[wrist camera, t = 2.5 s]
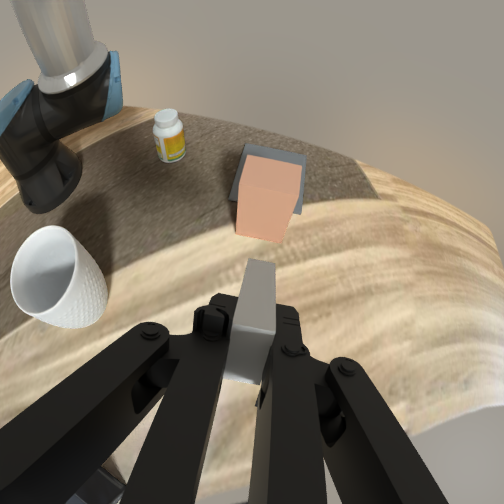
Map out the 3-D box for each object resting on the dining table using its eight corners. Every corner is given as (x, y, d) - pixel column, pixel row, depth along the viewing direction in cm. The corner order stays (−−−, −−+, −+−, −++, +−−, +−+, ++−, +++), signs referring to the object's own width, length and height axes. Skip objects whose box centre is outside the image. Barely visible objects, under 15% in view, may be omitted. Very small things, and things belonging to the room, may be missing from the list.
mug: (39, 327, 32) (-14, 303, 20) (51, 263, 36) (7, 225, 25) (115, 341, 33) (67, 323, 21) (125, 268, 37) (88, 223, 26)
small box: (93, 459, 24) (57, 477, 15) (130, 487, 23) (102, 514, 14) (71, 493, 20) (37, 512, 11) (103, 519, 19) (76, 545, 10)
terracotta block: (281, 243, 41) (299, 195, 31) (235, 234, 41) (239, 183, 31) (285, 216, 44) (302, 165, 33) (242, 207, 44) (247, 154, 33)
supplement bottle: (153, 161, 47) (143, 122, 38) (166, 142, 49) (159, 104, 40) (178, 166, 46) (172, 126, 38) (190, 147, 49) (186, 108, 40)
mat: (300, 214, 44) (301, 213, 44) (228, 200, 44) (228, 198, 44) (306, 157, 50) (306, 155, 50) (245, 144, 50) (245, 143, 50)
